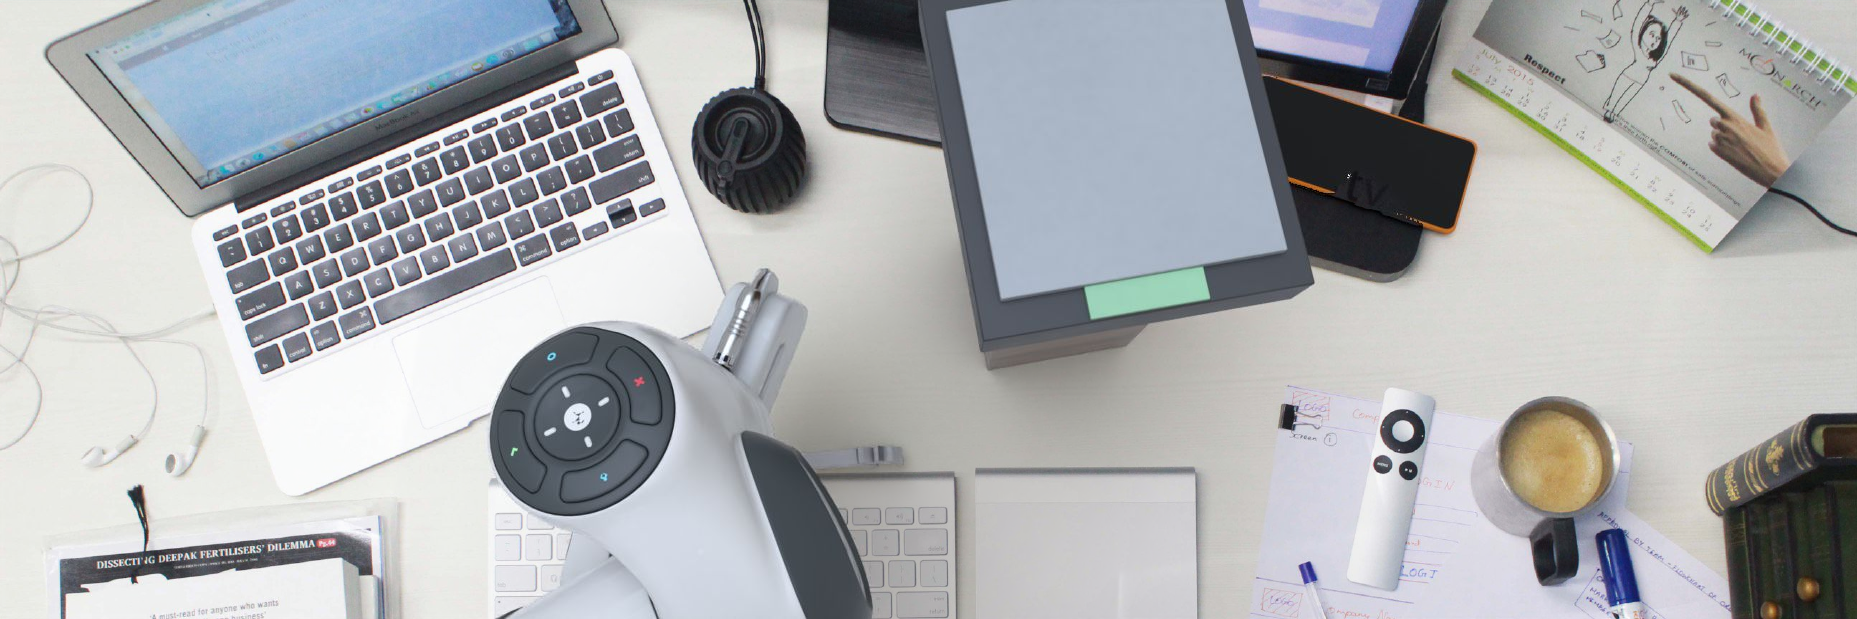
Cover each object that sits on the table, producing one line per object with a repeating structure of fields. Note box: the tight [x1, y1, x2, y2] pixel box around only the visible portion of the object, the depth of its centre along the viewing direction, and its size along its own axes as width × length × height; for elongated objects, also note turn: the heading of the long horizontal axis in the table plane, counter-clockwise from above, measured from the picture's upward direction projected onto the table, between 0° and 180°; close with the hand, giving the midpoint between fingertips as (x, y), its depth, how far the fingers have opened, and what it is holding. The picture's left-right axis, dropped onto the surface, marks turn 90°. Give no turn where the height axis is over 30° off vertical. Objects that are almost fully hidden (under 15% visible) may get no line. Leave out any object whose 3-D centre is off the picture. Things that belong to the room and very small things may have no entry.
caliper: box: [800, 444, 904, 471], centre depth 70 cm, size 20×1×6 cm, turn 94°
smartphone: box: [1262, 75, 1478, 235], centre depth 76 cm, size 8×17×1 cm, turn 70°
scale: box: [917, 0, 1316, 354], centre depth 46 cm, size 16×14×4 cm
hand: (736, 462), depth 67 cm, fingers open, 8 cm apart
